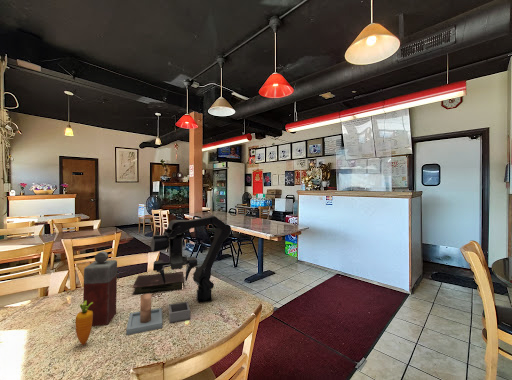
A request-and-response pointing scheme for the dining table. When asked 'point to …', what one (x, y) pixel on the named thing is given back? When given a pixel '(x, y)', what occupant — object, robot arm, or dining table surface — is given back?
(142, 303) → the dowel pin
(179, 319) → the grey square bin
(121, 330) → the dining table surface
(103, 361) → the dining table surface
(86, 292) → the dark red canister
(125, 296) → the dining table surface
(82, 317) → the carrot
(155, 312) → the slate tray
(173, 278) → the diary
